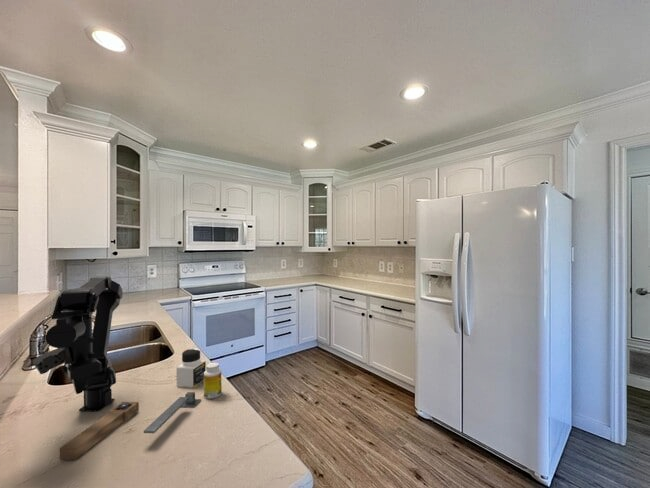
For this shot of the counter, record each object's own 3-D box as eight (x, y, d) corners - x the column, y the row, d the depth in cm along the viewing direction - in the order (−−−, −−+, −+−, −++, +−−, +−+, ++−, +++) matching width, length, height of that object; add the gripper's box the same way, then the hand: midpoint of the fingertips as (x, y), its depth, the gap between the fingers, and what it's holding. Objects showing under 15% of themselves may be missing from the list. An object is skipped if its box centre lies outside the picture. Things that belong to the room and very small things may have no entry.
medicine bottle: (193, 388, 99) (193, 354, 99) (176, 386, 101) (175, 353, 101) (206, 378, 106) (205, 347, 106) (189, 377, 108) (189, 346, 108)
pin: (116, 419, 82) (116, 407, 82) (123, 413, 84) (123, 402, 84) (124, 419, 82) (124, 407, 82) (131, 414, 84) (131, 402, 84)
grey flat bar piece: (139, 446, 71) (139, 430, 71) (186, 400, 92) (186, 388, 92) (158, 446, 70) (158, 431, 70) (201, 400, 91) (200, 388, 91)
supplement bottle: (221, 397, 93) (221, 366, 93) (203, 400, 91) (203, 369, 91) (221, 389, 98) (221, 360, 98) (204, 392, 96) (204, 362, 96)
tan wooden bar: (122, 410, 86) (122, 401, 86) (138, 410, 85) (138, 402, 85) (57, 459, 66) (57, 448, 66) (77, 459, 66) (77, 448, 66)
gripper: (31, 336, 75) (31, 394, 75) (41, 352, 64) (41, 421, 64) (84, 326, 84) (85, 378, 84) (102, 339, 72) (102, 399, 72)
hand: (78, 393), depth 76 cm, fingers closed
